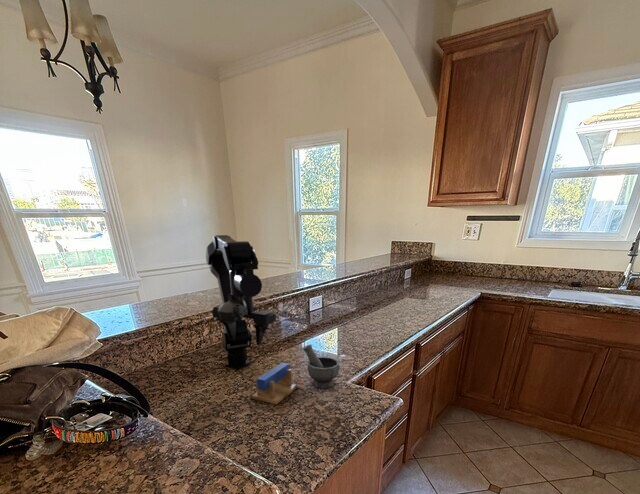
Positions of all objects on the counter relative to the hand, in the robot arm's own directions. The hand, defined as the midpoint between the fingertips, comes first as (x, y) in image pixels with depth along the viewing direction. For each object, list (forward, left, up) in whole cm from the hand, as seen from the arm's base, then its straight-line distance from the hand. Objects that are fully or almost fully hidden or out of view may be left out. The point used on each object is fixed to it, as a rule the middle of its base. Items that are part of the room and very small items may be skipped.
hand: (245, 342), depth 105 cm
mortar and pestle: (-7, +22, -12) cm, 26 cm away
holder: (+5, +13, -12) cm, 18 cm away
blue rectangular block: (+5, +13, -8) cm, 16 cm away
